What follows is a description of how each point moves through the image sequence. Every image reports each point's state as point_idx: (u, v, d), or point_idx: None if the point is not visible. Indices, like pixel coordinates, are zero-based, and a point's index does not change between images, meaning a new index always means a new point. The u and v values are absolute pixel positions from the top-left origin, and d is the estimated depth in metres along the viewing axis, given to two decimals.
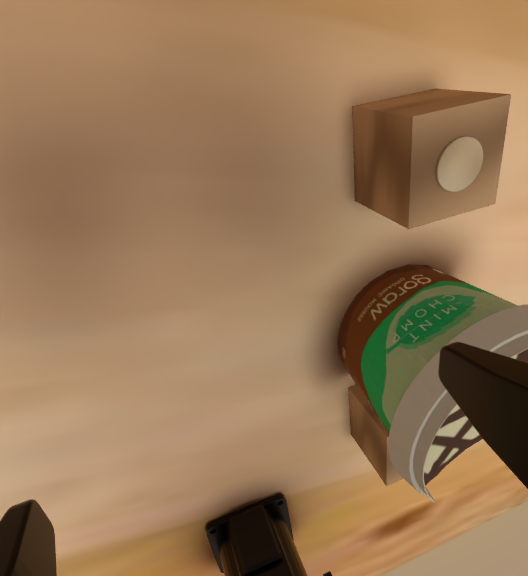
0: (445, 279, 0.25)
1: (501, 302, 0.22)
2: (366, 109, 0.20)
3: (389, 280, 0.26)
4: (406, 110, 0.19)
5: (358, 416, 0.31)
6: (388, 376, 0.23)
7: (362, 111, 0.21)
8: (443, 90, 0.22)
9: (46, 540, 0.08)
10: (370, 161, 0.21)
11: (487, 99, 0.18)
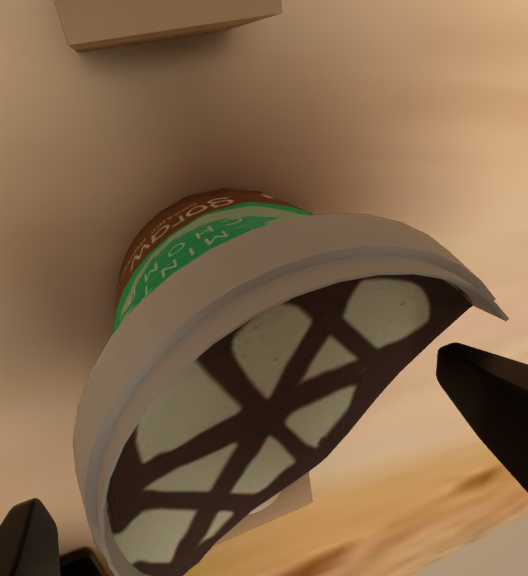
0: (259, 201, 0.14)
1: None
2: None
3: (177, 209, 0.15)
4: None
5: None
6: None
7: None
8: None
9: (49, 539, 0.08)
10: None
11: None
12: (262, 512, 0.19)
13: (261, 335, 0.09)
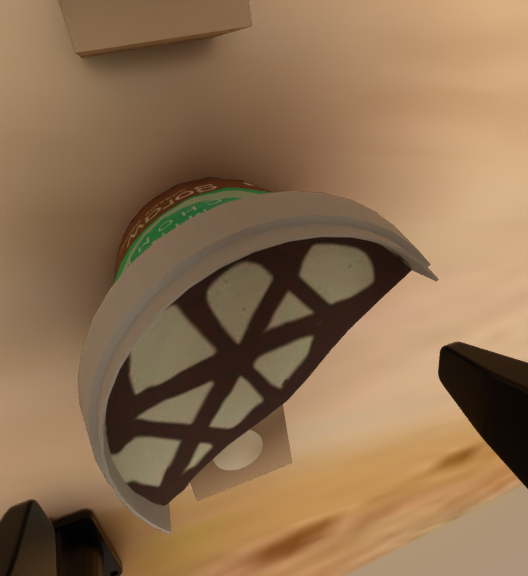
0: (239, 187, 0.17)
1: None
2: None
3: (168, 194, 0.18)
4: None
5: None
6: None
7: None
8: None
9: (46, 540, 0.08)
10: None
11: None
12: (246, 469, 0.21)
13: (230, 288, 0.11)
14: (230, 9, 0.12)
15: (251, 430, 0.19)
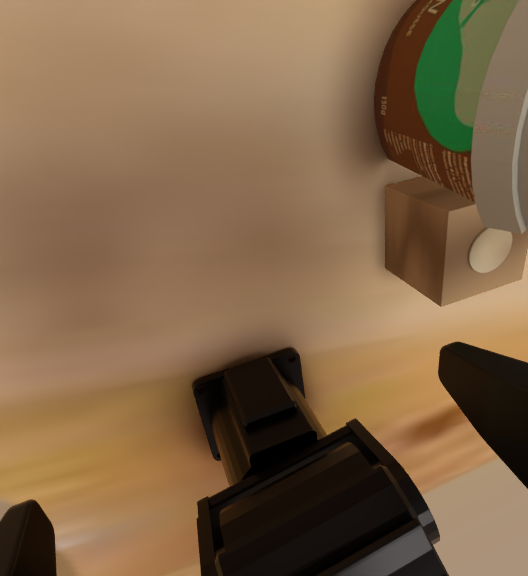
0: None
1: None
2: None
3: None
4: None
5: (398, 224, 0.23)
6: (466, 54, 0.15)
7: None
8: None
9: (46, 540, 0.08)
10: None
11: None
12: (487, 277, 0.21)
13: None
14: None
15: None
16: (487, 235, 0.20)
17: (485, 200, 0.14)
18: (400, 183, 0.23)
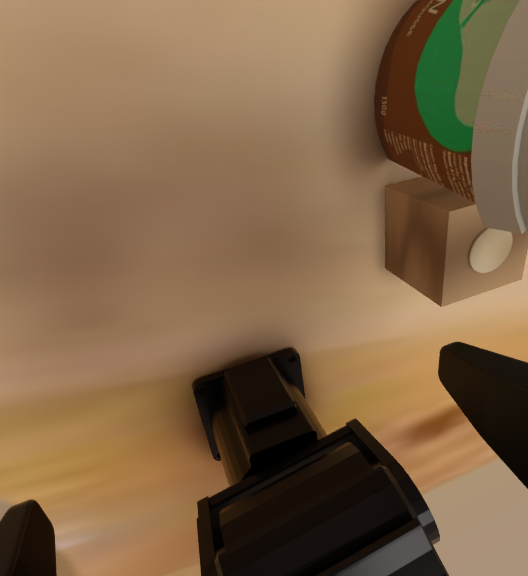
0: None
1: None
2: None
3: None
4: None
5: (399, 224, 0.23)
6: (467, 55, 0.15)
7: None
8: None
9: (46, 540, 0.08)
10: None
11: None
12: (487, 277, 0.21)
13: None
14: None
15: None
16: (487, 235, 0.20)
17: (485, 200, 0.14)
18: (400, 183, 0.23)
